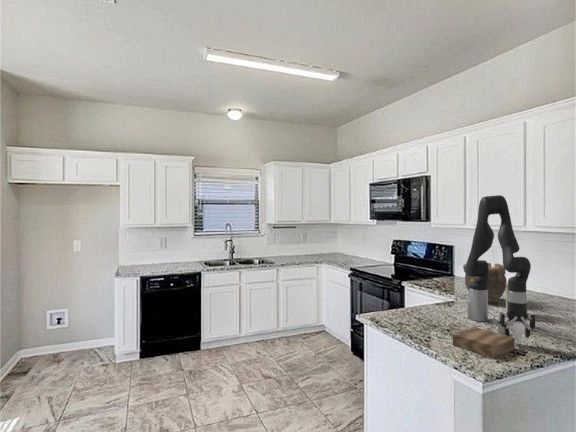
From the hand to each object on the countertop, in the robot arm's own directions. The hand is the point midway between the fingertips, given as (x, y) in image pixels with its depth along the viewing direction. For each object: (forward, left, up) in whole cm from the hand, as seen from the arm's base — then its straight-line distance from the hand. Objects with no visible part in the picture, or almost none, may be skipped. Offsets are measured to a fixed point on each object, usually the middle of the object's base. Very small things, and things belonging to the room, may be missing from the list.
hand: (517, 336), depth 161 cm
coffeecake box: (-22, +48, -4) cm, 53 cm away
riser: (-7, -16, -3) cm, 18 cm away
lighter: (-12, +9, -4) cm, 15 cm away
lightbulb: (0, 0, -4) cm, 4 cm away
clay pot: (-49, +66, -4) cm, 82 cm away
